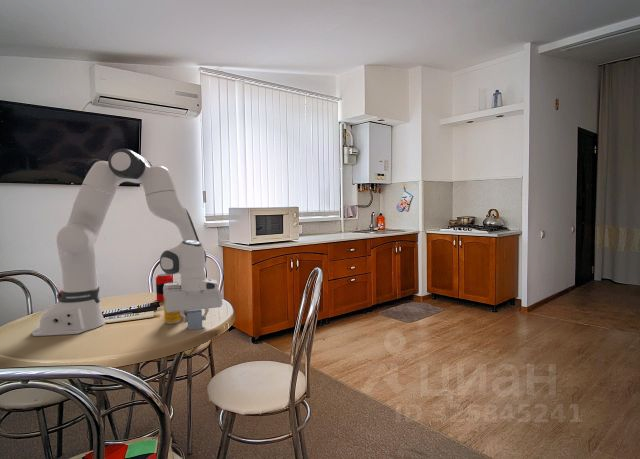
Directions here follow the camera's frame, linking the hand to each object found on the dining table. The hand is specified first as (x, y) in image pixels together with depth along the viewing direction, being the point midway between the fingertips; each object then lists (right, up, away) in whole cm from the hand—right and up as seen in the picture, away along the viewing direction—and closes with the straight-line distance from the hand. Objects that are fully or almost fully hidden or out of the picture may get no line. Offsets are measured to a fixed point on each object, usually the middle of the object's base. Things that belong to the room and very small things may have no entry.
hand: (194, 321), depth 140 cm
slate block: (0, -2, 0) cm, 2 cm away
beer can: (-10, -2, +6) cm, 12 cm away
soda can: (-27, 0, +39) cm, 48 cm away
